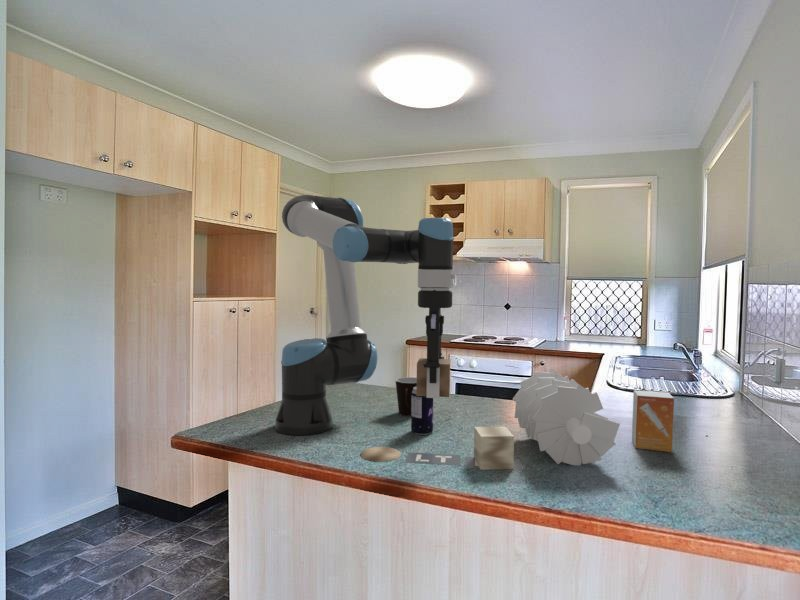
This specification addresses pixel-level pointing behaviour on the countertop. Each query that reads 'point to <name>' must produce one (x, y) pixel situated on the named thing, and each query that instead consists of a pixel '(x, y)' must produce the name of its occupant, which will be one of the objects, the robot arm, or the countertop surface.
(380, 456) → the cork coaster
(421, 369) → the walnut block
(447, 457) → the tile
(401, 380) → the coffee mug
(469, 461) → the code tile
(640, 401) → the small box
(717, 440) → the countertop surface
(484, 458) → the birch block
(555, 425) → the spiral staircase
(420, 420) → the beverage can
